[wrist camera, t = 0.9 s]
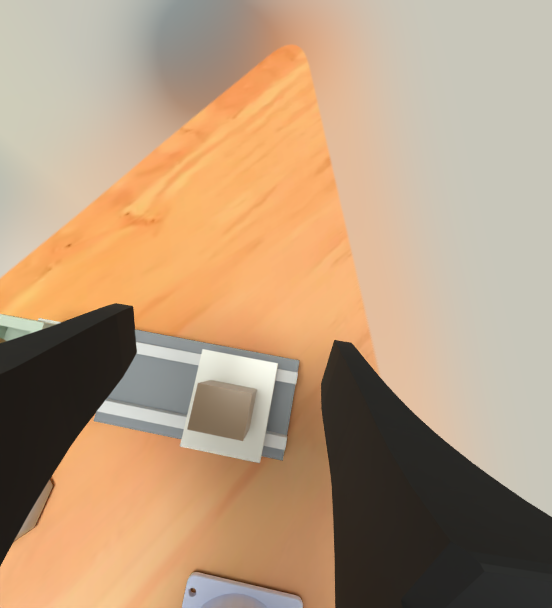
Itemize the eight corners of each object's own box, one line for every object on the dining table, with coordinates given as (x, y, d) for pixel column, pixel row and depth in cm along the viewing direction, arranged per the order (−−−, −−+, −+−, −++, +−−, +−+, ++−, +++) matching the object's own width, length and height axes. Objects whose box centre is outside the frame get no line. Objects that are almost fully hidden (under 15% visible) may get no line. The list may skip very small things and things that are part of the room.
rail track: (282, 454, 22) (282, 464, 20) (105, 417, 23) (86, 423, 20) (298, 360, 23) (300, 360, 21) (131, 329, 24) (115, 325, 22)
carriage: (261, 453, 20) (255, 483, 15) (189, 438, 20) (159, 462, 15) (278, 363, 21) (276, 363, 16) (209, 350, 21) (188, 346, 16)
